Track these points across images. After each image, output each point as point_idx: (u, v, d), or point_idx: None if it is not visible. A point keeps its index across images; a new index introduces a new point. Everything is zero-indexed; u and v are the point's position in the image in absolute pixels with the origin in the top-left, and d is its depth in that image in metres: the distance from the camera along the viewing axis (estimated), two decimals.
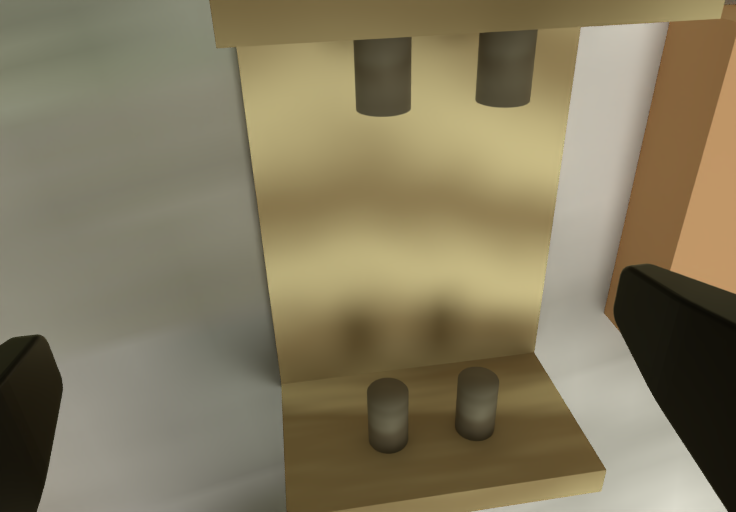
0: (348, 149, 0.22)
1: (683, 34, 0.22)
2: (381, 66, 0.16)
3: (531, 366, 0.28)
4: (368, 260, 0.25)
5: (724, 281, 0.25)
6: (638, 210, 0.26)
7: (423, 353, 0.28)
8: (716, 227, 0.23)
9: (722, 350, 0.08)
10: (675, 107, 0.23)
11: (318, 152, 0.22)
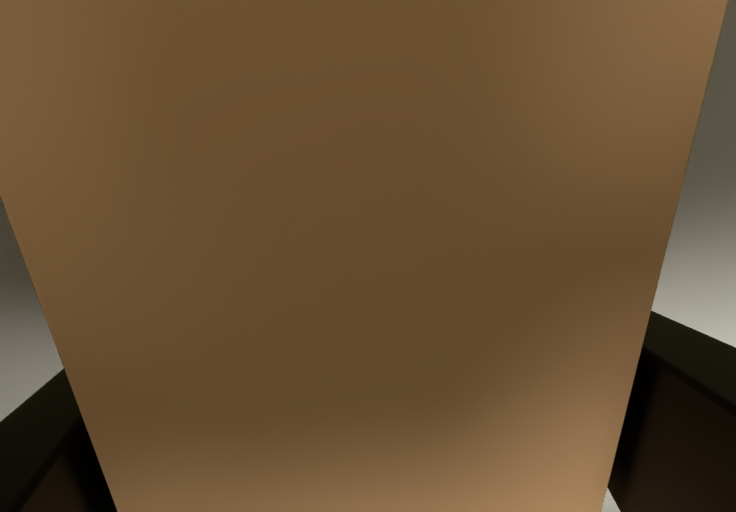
0: None
1: None
2: None
3: None
4: None
5: None
6: None
7: None
8: (254, 509, 0.07)
9: None
10: None
11: None
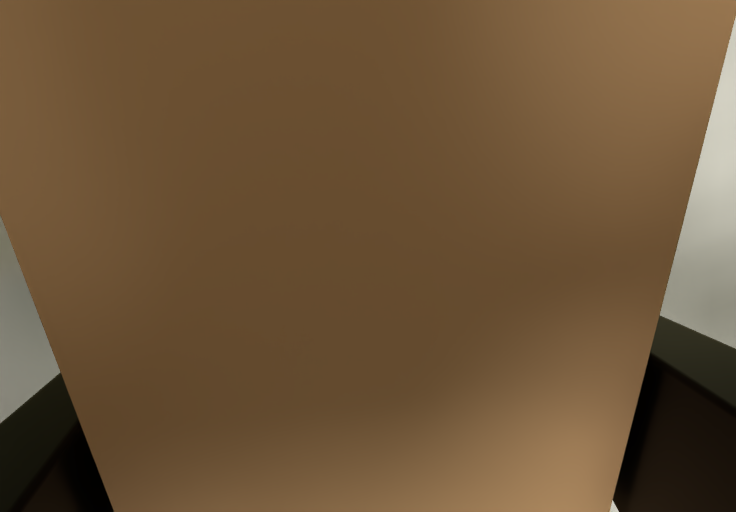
0: None
1: None
2: None
3: None
4: None
5: None
6: None
7: None
8: None
9: None
10: None
11: None
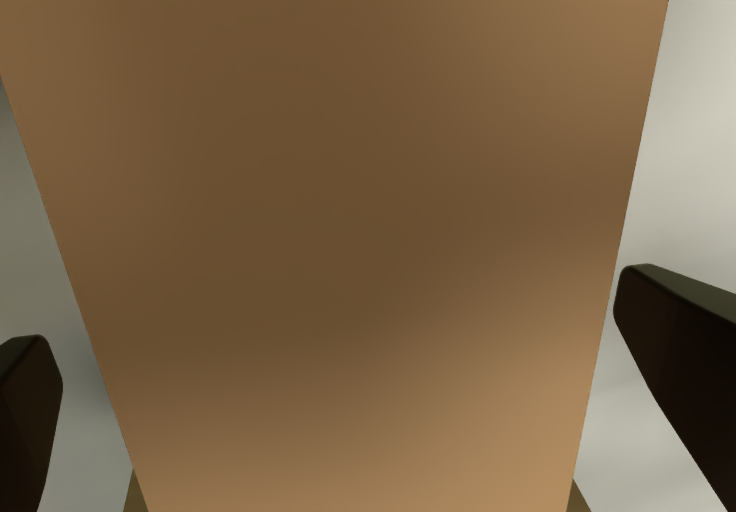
0: None
1: None
2: None
3: None
4: None
5: None
6: None
7: None
8: (254, 456, 0.08)
9: (722, 350, 0.08)
10: None
11: None
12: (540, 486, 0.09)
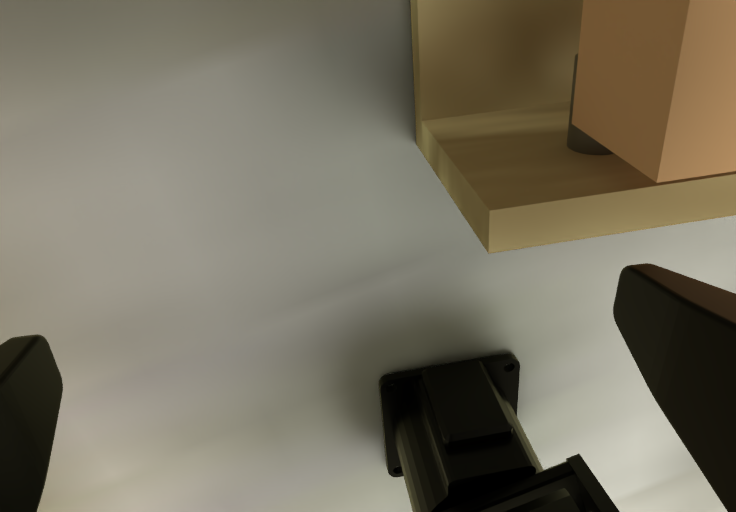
0: None
1: None
2: None
3: None
4: None
5: None
6: None
7: None
8: None
9: (722, 350, 0.08)
10: None
11: None
12: None
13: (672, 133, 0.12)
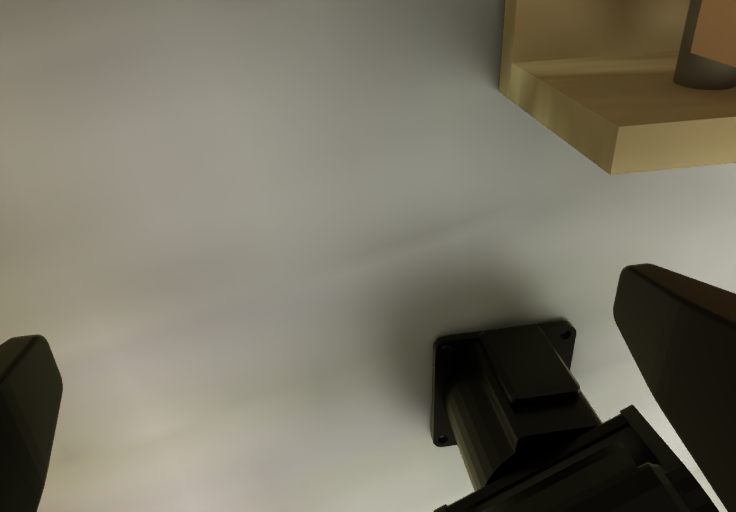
0: None
1: None
2: None
3: None
4: None
5: None
6: None
7: None
8: None
9: (722, 350, 0.08)
10: None
11: None
12: None
13: None
